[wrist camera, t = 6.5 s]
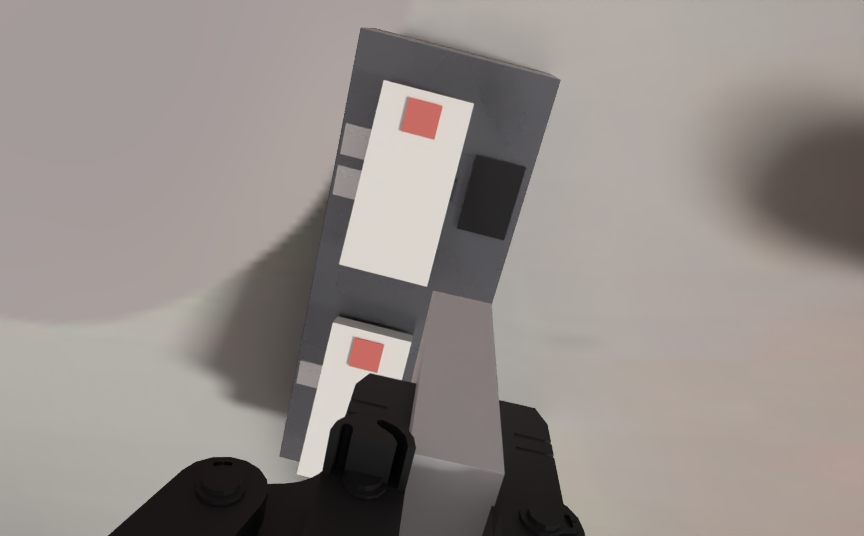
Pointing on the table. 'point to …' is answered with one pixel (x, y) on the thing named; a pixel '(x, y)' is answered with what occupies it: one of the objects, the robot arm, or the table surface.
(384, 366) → the block
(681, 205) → the table surface
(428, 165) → the block
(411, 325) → the switch panel
